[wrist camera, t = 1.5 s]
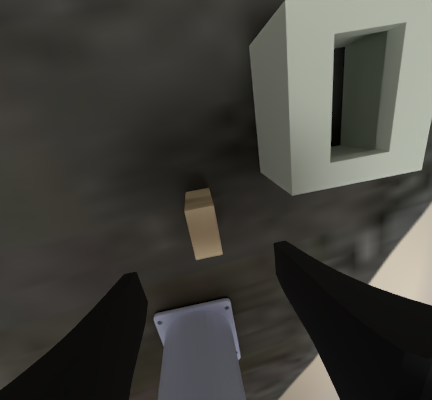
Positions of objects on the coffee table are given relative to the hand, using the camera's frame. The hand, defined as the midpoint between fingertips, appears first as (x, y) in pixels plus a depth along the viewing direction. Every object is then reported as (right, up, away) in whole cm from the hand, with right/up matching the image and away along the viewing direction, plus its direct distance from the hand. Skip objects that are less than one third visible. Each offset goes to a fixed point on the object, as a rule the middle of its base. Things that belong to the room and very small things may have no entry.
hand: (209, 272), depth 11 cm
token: (-1, +3, +8) cm, 8 cm away
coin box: (+7, +11, +5) cm, 14 cm away
